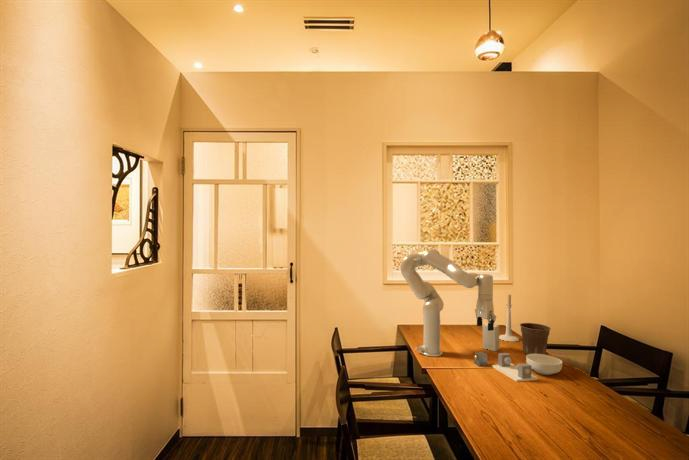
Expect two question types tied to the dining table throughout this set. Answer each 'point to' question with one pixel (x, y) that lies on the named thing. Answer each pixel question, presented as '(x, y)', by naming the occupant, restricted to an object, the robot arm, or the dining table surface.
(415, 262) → the robot arm
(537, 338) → the plant pot
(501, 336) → the candlestick
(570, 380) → the dining table surface
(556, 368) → the cereal bowl
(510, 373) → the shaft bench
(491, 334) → the skincare box
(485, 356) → the joint block
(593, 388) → the dining table surface
